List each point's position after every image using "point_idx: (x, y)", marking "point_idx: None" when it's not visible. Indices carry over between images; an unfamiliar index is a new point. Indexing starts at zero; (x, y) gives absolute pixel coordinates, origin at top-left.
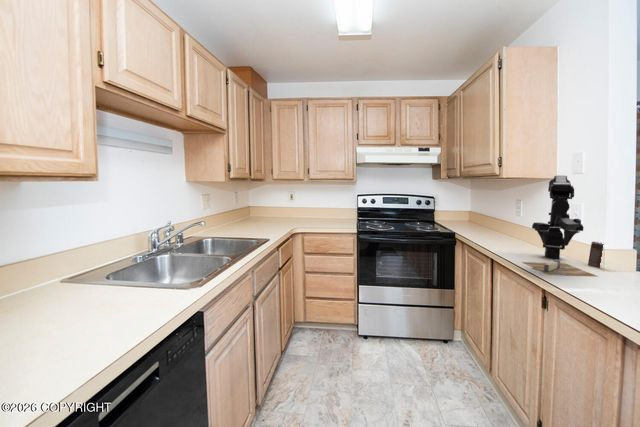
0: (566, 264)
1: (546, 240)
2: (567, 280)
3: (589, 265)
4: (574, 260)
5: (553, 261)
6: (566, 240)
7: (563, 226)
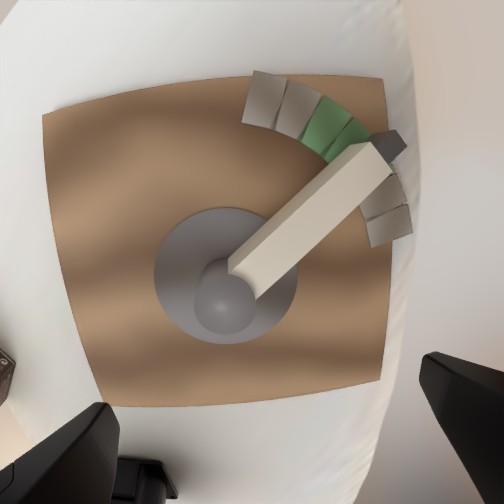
0: (105, 382)
1: (486, 381)
2: (278, 38)
3: (3, 367)
4: None
5: (257, 292)
6: (86, 471)
7: None
